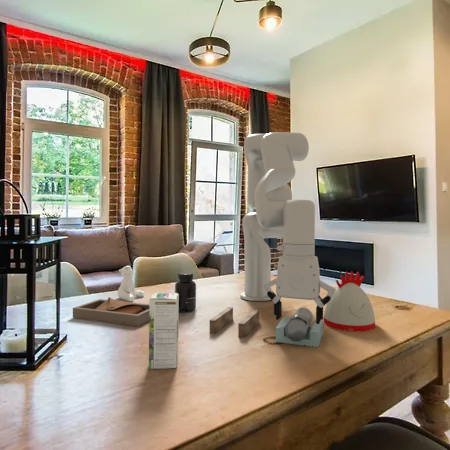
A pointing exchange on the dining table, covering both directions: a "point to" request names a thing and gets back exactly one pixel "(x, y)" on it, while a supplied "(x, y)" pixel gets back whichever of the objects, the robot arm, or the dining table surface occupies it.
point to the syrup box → (163, 330)
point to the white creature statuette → (128, 286)
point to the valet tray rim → (110, 314)
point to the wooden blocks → (227, 316)
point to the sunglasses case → (120, 307)
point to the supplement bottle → (186, 292)
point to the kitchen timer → (349, 306)
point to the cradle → (310, 338)
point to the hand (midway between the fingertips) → (298, 320)
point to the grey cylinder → (299, 324)
